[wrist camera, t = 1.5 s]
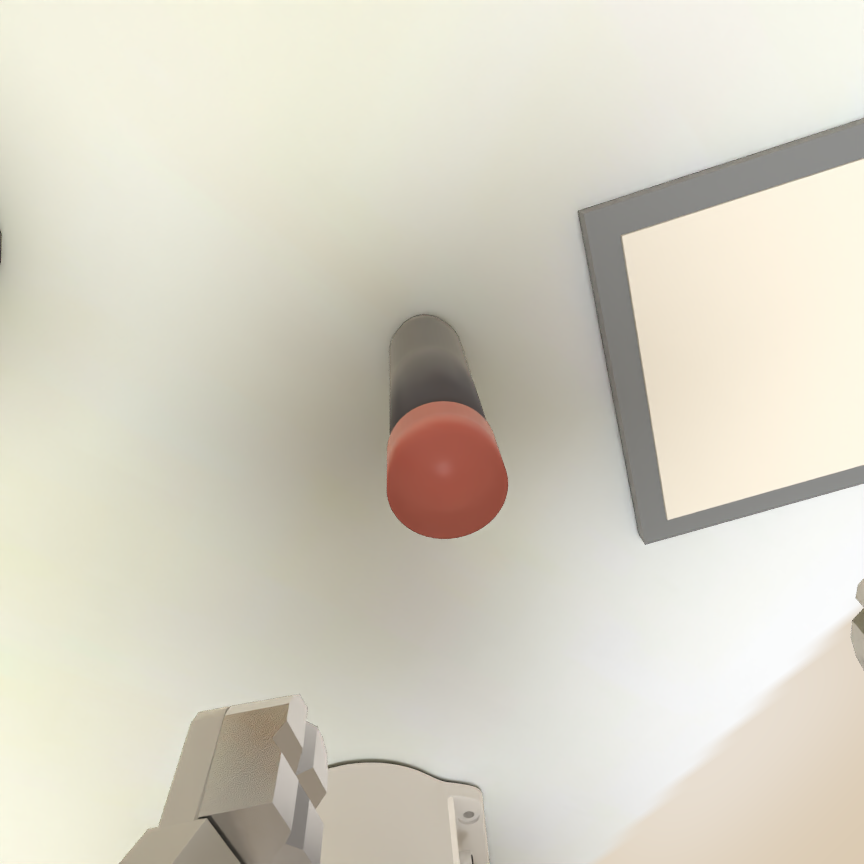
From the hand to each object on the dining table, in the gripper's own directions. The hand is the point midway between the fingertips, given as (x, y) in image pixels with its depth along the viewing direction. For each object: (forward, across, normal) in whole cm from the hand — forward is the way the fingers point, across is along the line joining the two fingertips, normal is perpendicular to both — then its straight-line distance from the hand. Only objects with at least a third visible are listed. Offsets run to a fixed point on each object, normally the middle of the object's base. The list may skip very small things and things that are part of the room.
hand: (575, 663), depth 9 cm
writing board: (+24, +15, -9) cm, 30 cm away
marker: (+24, -2, -4) cm, 25 cm away
